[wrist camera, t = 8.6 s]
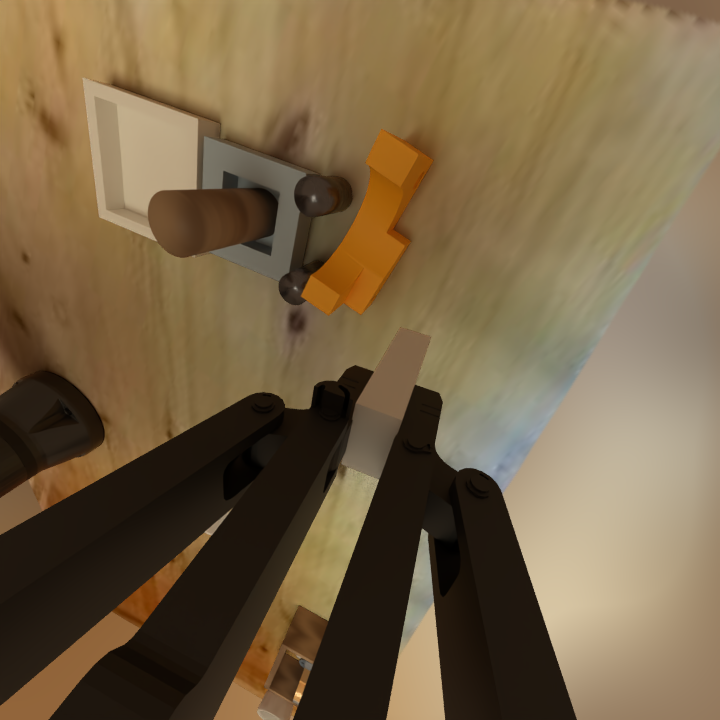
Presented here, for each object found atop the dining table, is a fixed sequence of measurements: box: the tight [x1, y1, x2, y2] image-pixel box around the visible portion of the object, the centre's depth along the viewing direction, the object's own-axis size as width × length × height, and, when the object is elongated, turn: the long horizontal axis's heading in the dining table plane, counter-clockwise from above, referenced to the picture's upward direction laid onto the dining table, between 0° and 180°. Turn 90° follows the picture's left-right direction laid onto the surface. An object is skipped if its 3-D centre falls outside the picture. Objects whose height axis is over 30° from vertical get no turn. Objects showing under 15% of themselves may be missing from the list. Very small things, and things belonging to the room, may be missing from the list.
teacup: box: [257, 690, 293, 720], centre depth 81 cm, size 10×8×5 cm
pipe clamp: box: [301, 129, 434, 316], centre depth 25 cm, size 12×4×6 cm, turn 150°
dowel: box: [148, 188, 279, 258], centre depth 26 cm, size 4×4×10 cm
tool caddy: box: [264, 606, 328, 707], centre depth 64 cm, size 15×23×6 cm, turn 163°
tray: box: [83, 78, 220, 257], centre depth 31 cm, size 11×11×3 cm
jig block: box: [202, 136, 320, 281], centre depth 30 cm, size 9×9×2 cm
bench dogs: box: [279, 176, 352, 305], centre depth 28 cm, size 3×10×5 cm, turn 163°
